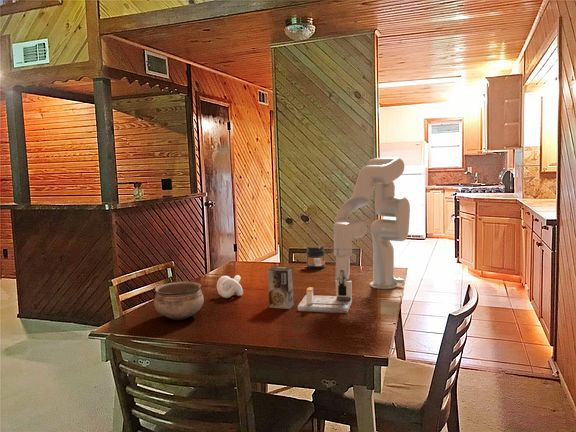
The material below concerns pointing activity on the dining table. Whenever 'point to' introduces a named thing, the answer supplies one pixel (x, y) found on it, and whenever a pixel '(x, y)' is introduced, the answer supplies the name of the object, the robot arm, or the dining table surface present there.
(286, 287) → the coffee box
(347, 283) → the dial
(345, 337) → the dining table surface
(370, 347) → the dining table surface
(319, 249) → the supplement container
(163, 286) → the cooking pot
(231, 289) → the white rounded piece
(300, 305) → the console
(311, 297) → the fader tab
